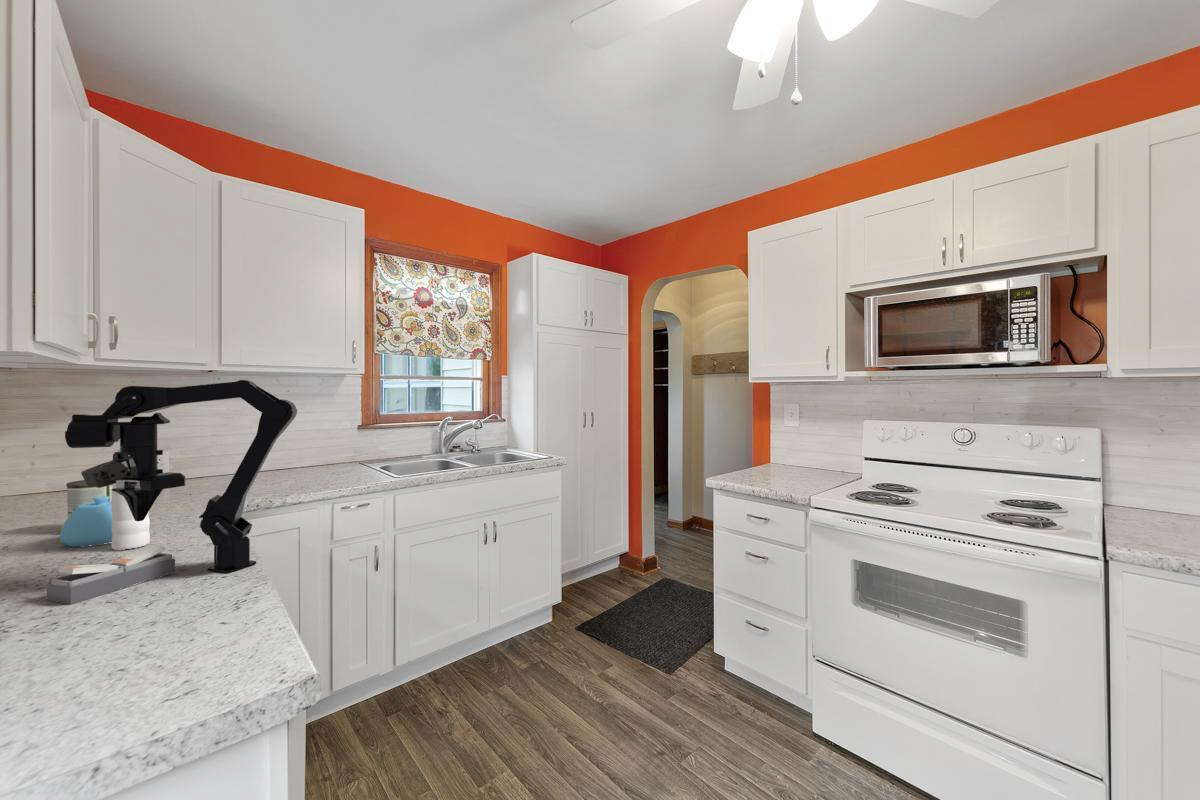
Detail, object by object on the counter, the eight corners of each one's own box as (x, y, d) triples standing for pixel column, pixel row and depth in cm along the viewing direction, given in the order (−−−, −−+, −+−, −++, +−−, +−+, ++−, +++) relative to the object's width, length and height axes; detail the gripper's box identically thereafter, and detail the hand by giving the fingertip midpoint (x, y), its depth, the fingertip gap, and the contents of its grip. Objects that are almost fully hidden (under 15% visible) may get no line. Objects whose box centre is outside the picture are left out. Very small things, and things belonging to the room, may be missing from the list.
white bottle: (126, 552, 120) (125, 450, 120) (103, 550, 122) (103, 449, 122) (157, 543, 127) (156, 447, 127) (135, 542, 129) (135, 446, 129)
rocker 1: (117, 571, 97) (118, 565, 98) (71, 574, 91) (73, 567, 91) (103, 569, 98) (105, 563, 99) (58, 572, 92) (60, 565, 92)
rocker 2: (165, 549, 105) (163, 545, 105) (127, 568, 99) (125, 563, 99) (152, 548, 107) (151, 543, 106) (113, 566, 100) (112, 561, 100)
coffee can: (65, 530, 140) (65, 481, 140) (115, 523, 148) (115, 476, 148) (68, 537, 133) (68, 485, 133) (121, 529, 141) (120, 480, 141)
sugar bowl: (154, 534, 136) (154, 493, 136) (84, 551, 121) (84, 504, 121) (116, 531, 140) (116, 490, 140) (44, 546, 125) (44, 501, 125)
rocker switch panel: (175, 572, 106) (175, 554, 106) (70, 604, 90) (70, 583, 90) (152, 569, 108) (152, 551, 108) (46, 600, 92) (46, 579, 92)
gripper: (58, 448, 97) (58, 527, 98) (122, 451, 92) (122, 534, 92) (126, 443, 108) (126, 514, 108) (187, 446, 103) (187, 520, 103)
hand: (139, 520), depth 103 cm, fingers closed
